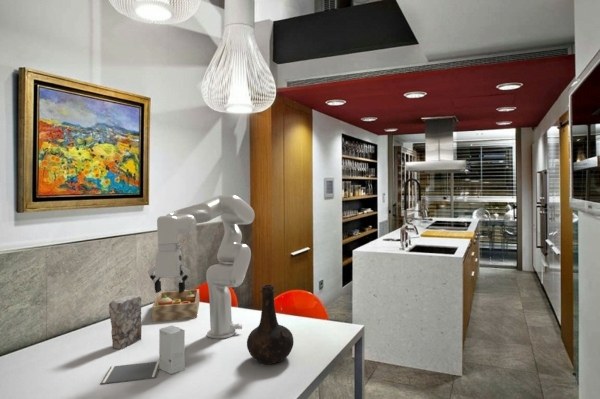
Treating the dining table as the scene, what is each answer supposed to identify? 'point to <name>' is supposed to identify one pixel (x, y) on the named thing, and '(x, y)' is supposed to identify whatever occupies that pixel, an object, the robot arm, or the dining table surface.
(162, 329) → the skincare box
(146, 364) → the mat
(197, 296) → the crate
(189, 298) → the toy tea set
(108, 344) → the dining table surface
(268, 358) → the glass bottle
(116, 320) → the stone block
